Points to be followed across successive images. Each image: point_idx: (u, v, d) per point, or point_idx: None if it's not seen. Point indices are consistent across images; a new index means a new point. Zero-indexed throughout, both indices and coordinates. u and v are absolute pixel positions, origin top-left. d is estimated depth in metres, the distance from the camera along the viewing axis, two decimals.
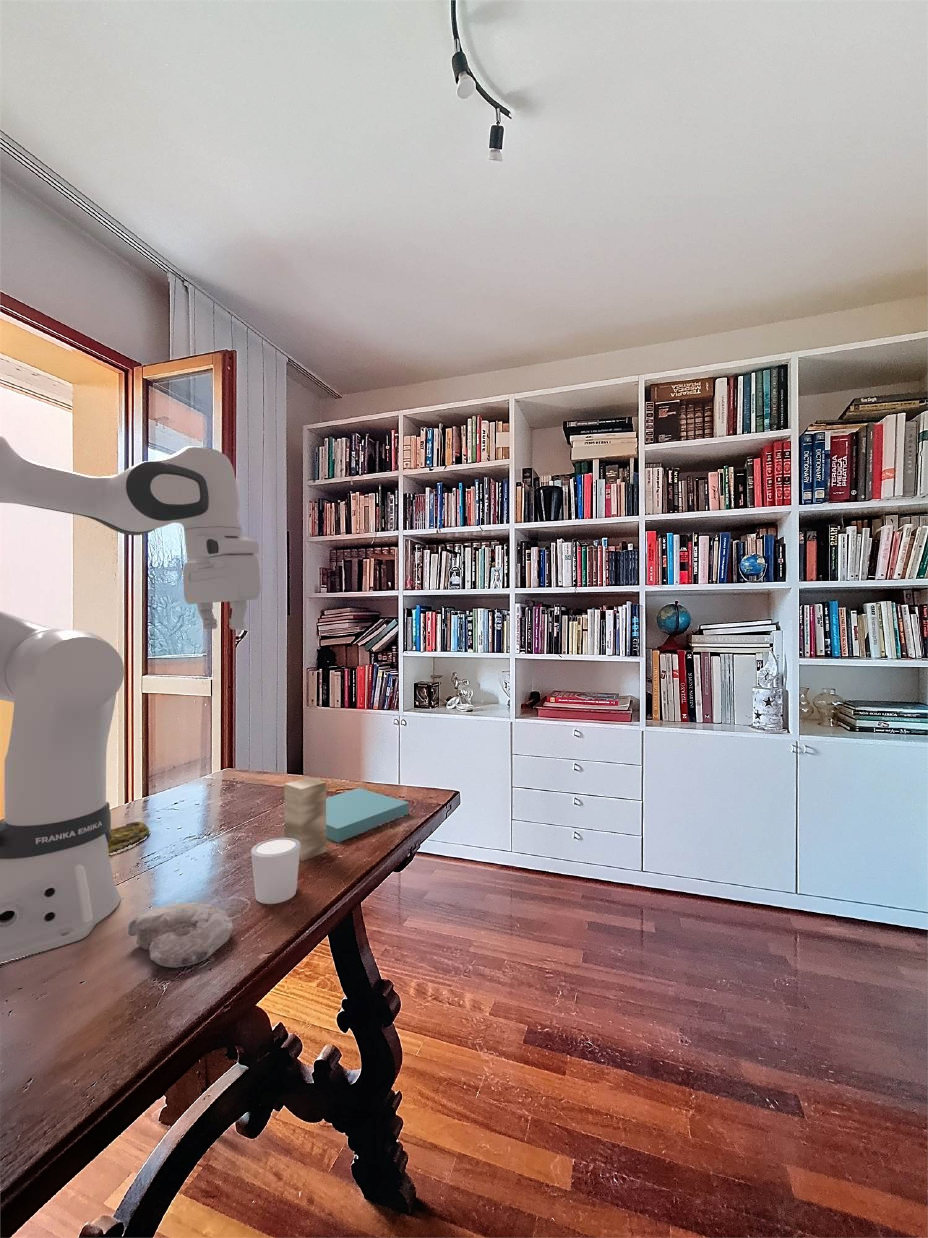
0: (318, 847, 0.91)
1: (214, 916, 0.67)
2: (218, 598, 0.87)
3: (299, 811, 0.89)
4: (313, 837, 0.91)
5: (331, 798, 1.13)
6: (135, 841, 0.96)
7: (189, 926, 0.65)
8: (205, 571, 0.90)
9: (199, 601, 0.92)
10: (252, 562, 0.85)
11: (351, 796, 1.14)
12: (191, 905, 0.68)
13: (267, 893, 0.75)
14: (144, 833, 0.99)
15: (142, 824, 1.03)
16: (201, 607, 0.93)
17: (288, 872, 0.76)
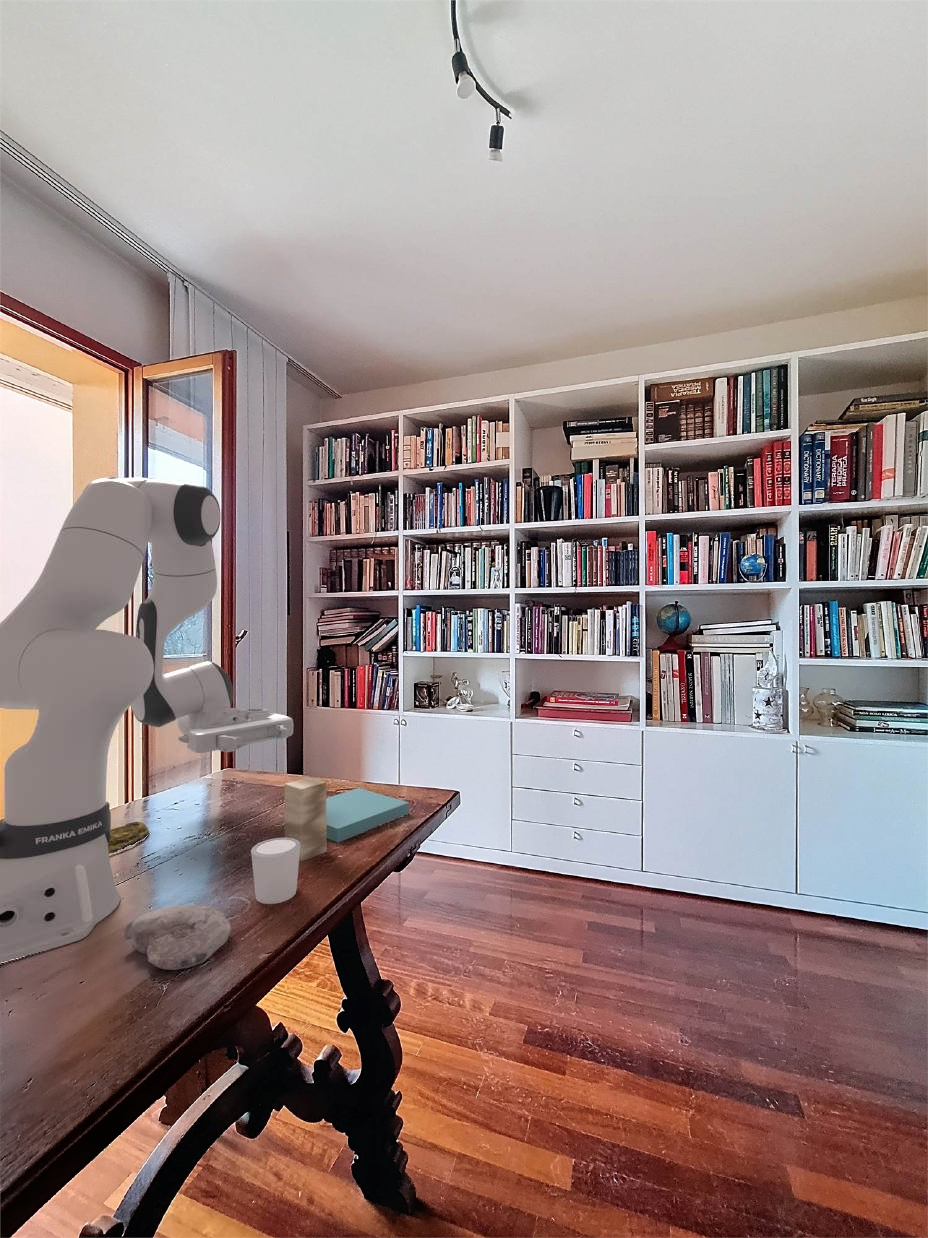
0: (318, 847, 0.91)
1: (212, 918, 0.66)
2: (262, 723, 1.07)
3: (299, 811, 0.89)
4: (313, 837, 0.91)
5: (331, 798, 1.13)
6: (134, 841, 0.96)
7: (187, 929, 0.65)
8: (231, 725, 1.07)
9: (229, 729, 1.02)
10: None
11: (351, 796, 1.14)
12: (187, 908, 0.68)
13: (267, 893, 0.75)
14: (143, 833, 0.99)
15: (142, 824, 1.03)
16: (225, 735, 1.00)
17: (288, 872, 0.76)
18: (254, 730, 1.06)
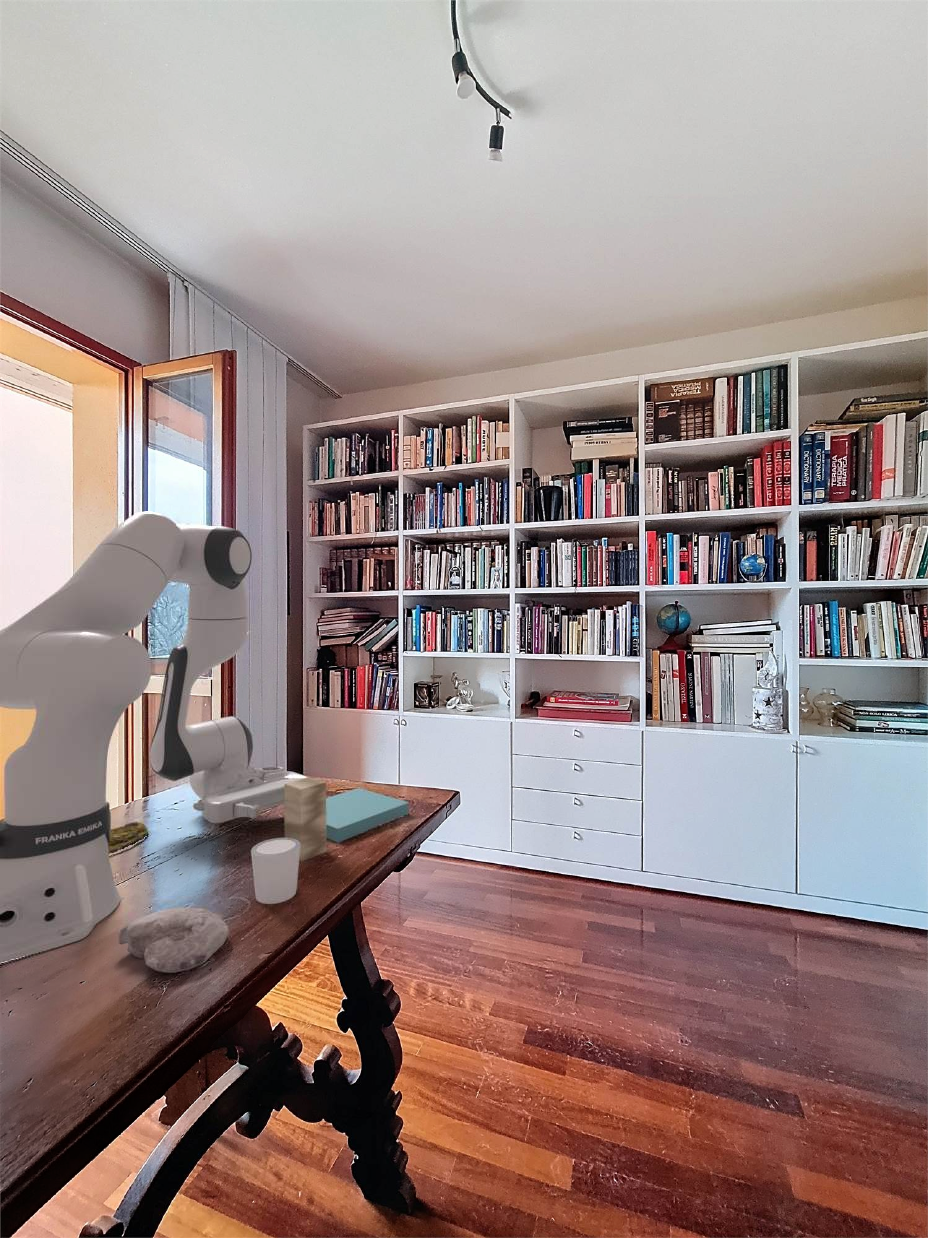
0: (318, 847, 0.91)
1: (209, 920, 0.66)
2: (280, 786, 1.03)
3: (299, 811, 0.89)
4: (313, 837, 0.91)
5: (331, 798, 1.13)
6: (133, 842, 0.96)
7: (184, 931, 0.64)
8: (247, 788, 1.03)
9: (246, 796, 0.97)
10: None
11: (351, 796, 1.14)
12: (183, 910, 0.67)
13: (267, 893, 0.75)
14: (143, 833, 0.99)
15: (141, 824, 1.03)
16: (242, 803, 0.95)
17: (288, 872, 0.76)
18: (271, 794, 1.01)
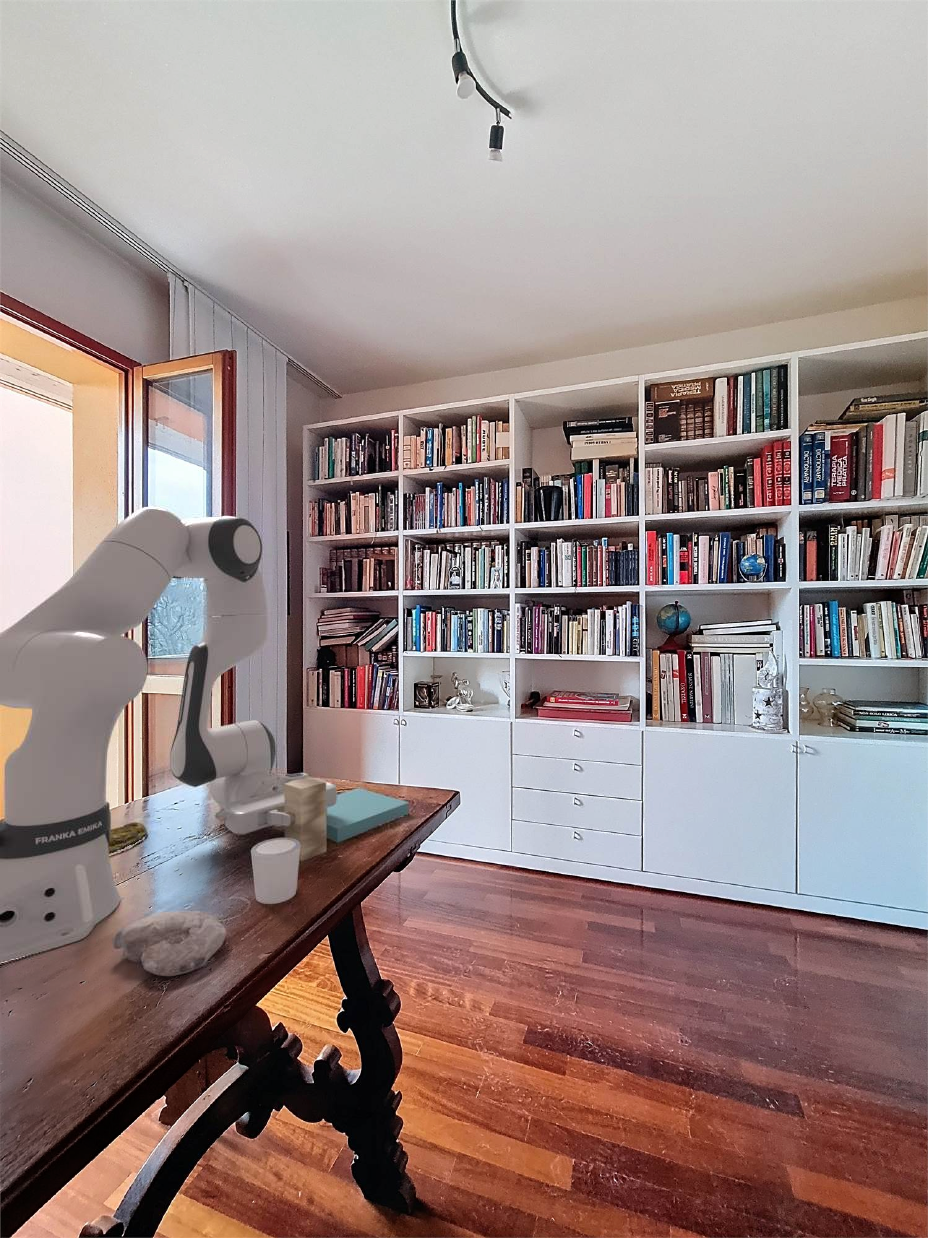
0: (318, 847, 0.91)
1: (206, 922, 0.65)
2: None
3: (299, 811, 0.89)
4: (313, 837, 0.91)
5: None
6: (133, 842, 0.95)
7: (181, 934, 0.64)
8: (271, 796, 0.97)
9: (271, 805, 0.92)
10: None
11: (351, 796, 1.14)
12: (179, 913, 0.67)
13: (267, 893, 0.75)
14: (142, 834, 0.99)
15: (140, 825, 1.03)
16: (276, 810, 0.91)
17: (288, 872, 0.76)
18: None
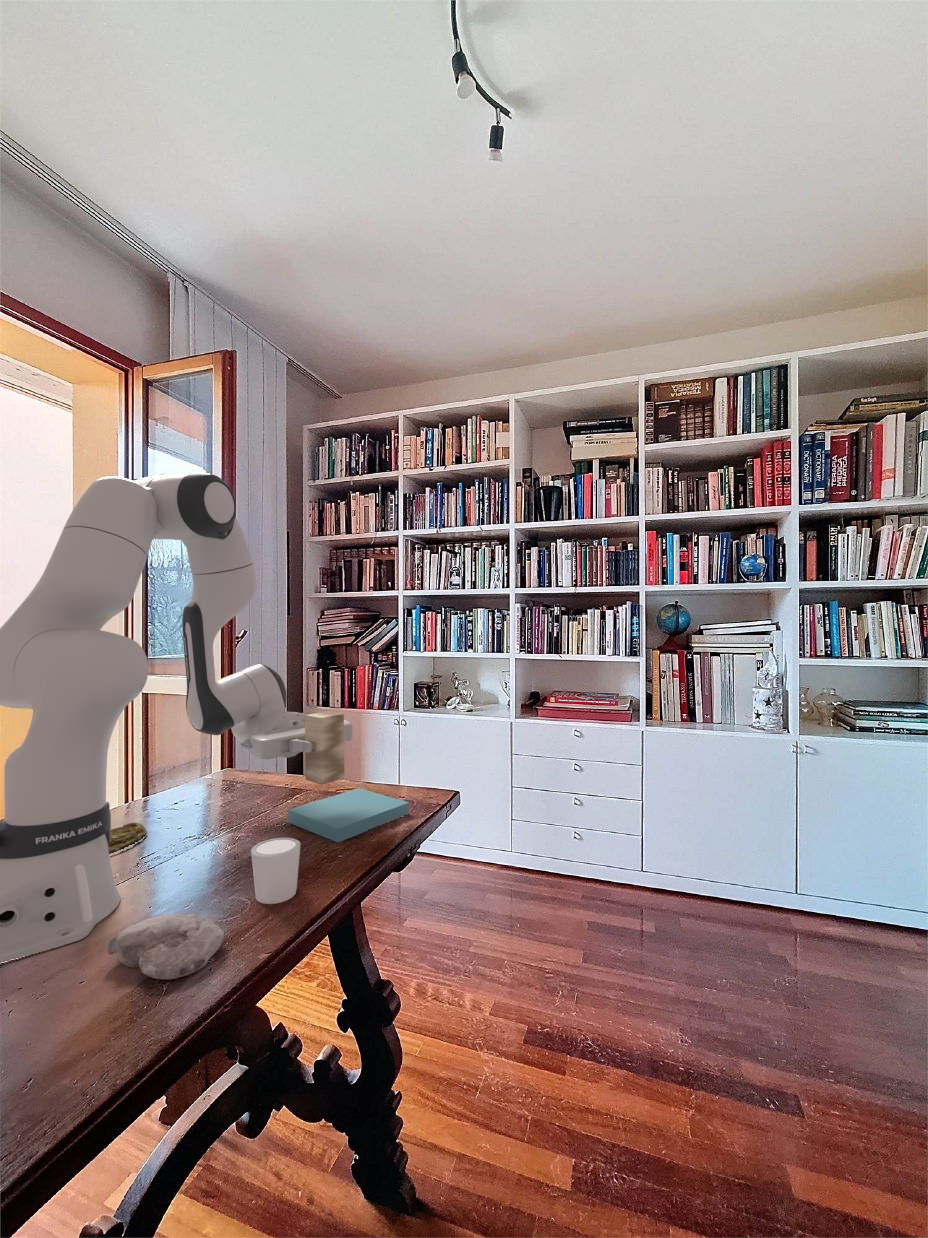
0: (337, 773, 0.98)
1: (203, 924, 0.65)
2: None
3: (319, 738, 0.96)
4: (332, 763, 0.97)
5: (331, 798, 1.13)
6: (132, 842, 0.95)
7: (178, 937, 0.63)
8: (292, 729, 1.04)
9: (293, 734, 0.98)
10: None
11: (351, 796, 1.14)
12: (174, 917, 0.66)
13: (267, 893, 0.75)
14: (141, 834, 0.99)
15: (139, 825, 1.03)
16: (297, 739, 0.98)
17: (288, 872, 0.76)
18: None
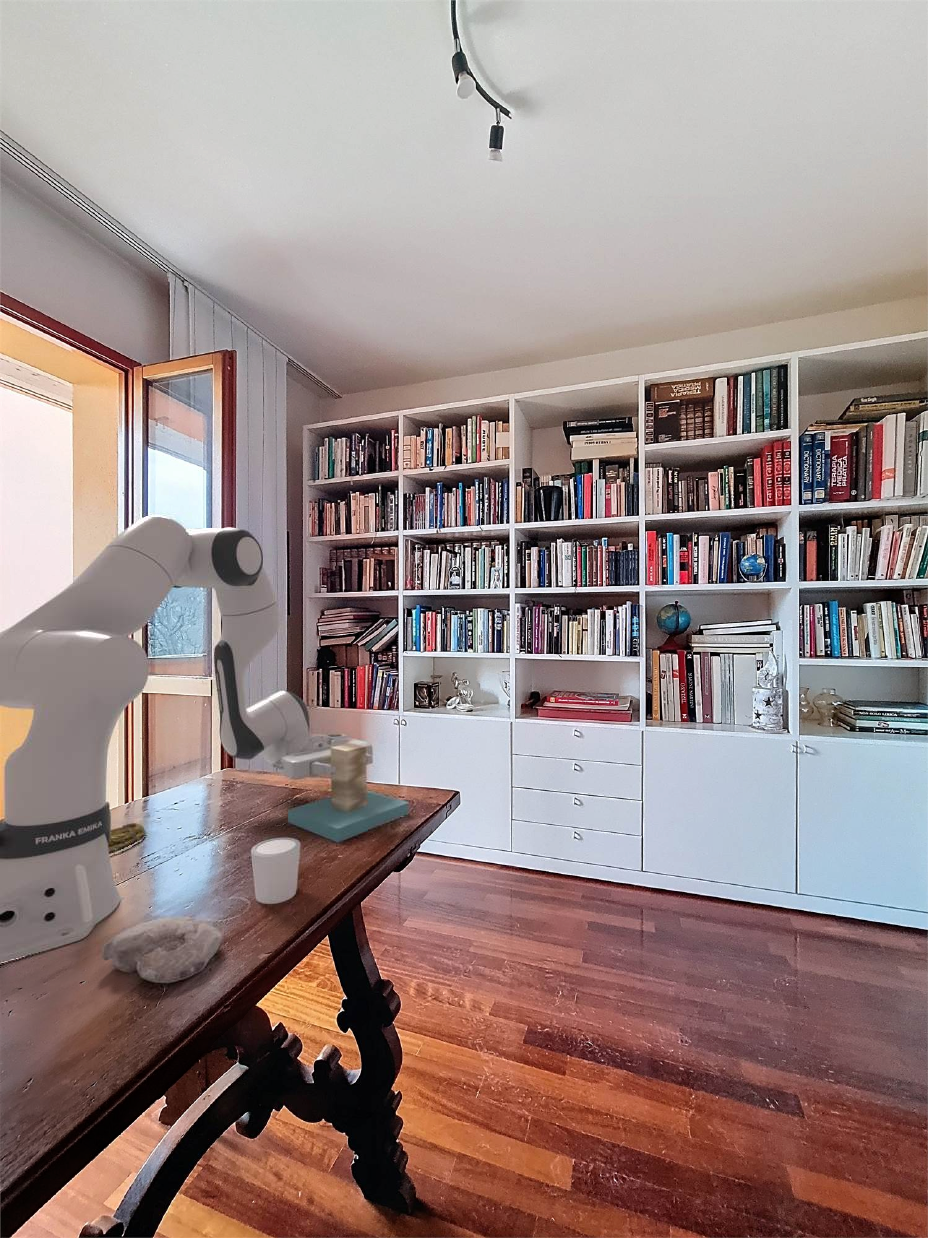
0: (360, 801, 1.07)
1: (201, 927, 0.64)
2: None
3: (344, 770, 1.05)
4: (356, 792, 1.07)
5: None
6: (131, 843, 0.95)
7: (175, 941, 0.62)
8: (318, 751, 1.13)
9: (320, 756, 1.08)
10: None
11: None
12: (170, 920, 0.65)
13: (267, 893, 0.75)
14: (140, 835, 0.98)
15: (139, 825, 1.02)
16: None
17: (288, 872, 0.76)
18: None
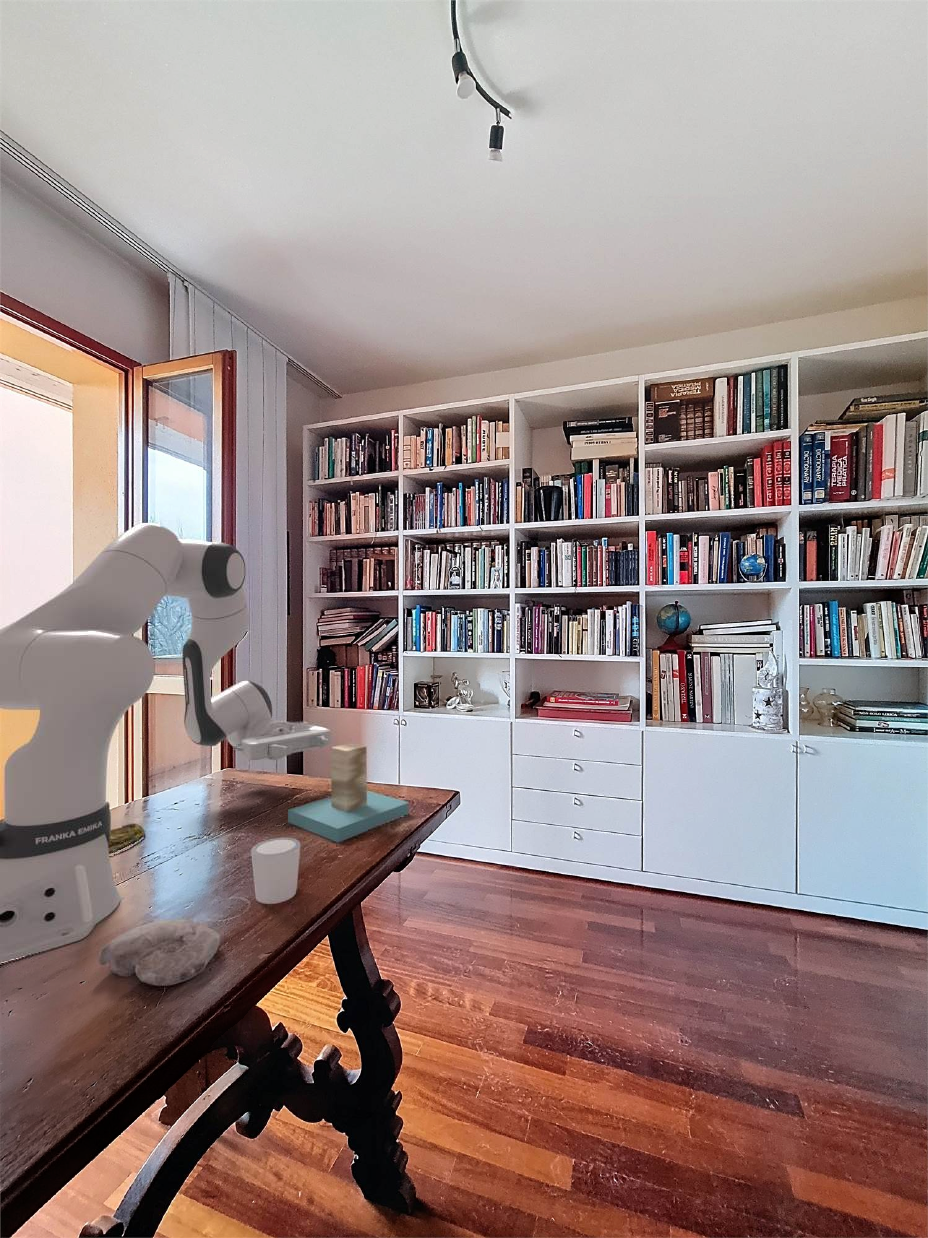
0: (360, 801, 1.07)
1: (199, 928, 0.64)
2: (306, 734, 1.21)
3: (345, 770, 1.05)
4: (356, 792, 1.07)
5: (331, 798, 1.13)
6: (129, 843, 0.95)
7: (173, 943, 0.62)
8: (278, 735, 1.21)
9: (278, 739, 1.15)
10: None
11: None
12: (167, 923, 0.64)
13: (267, 893, 0.75)
14: (139, 835, 0.98)
15: (138, 826, 1.02)
16: (276, 744, 1.14)
17: (288, 872, 0.76)
18: (298, 740, 1.19)
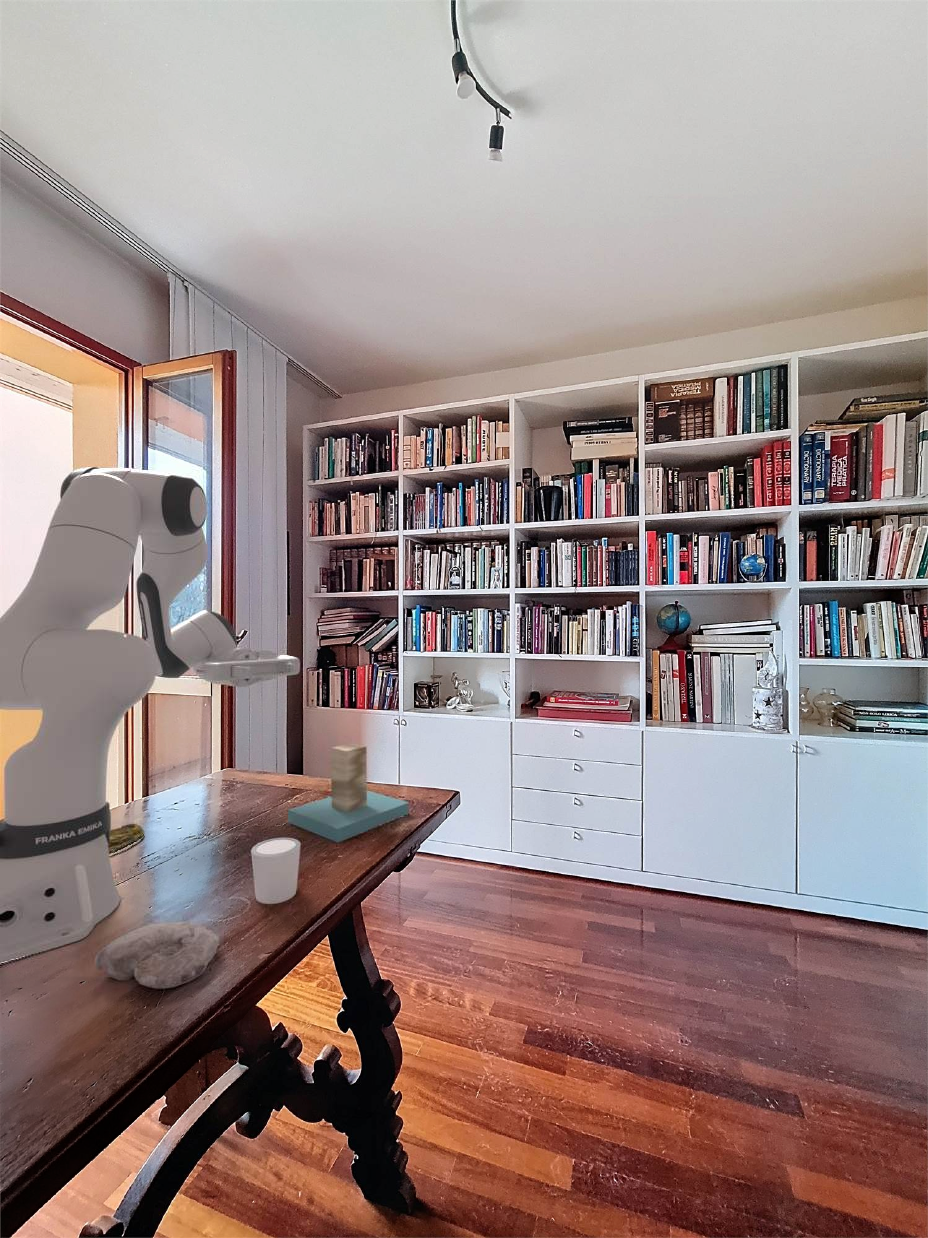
0: (360, 801, 1.07)
1: (197, 930, 0.63)
2: (272, 659, 1.18)
3: (345, 770, 1.05)
4: (356, 792, 1.07)
5: (331, 798, 1.13)
6: (128, 844, 0.95)
7: (172, 945, 0.62)
8: (243, 661, 1.18)
9: (242, 662, 1.12)
10: None
11: None
12: (164, 925, 0.64)
13: (267, 893, 0.75)
14: (138, 836, 0.98)
15: (137, 826, 1.02)
16: None
17: (288, 872, 0.76)
18: (264, 665, 1.16)
